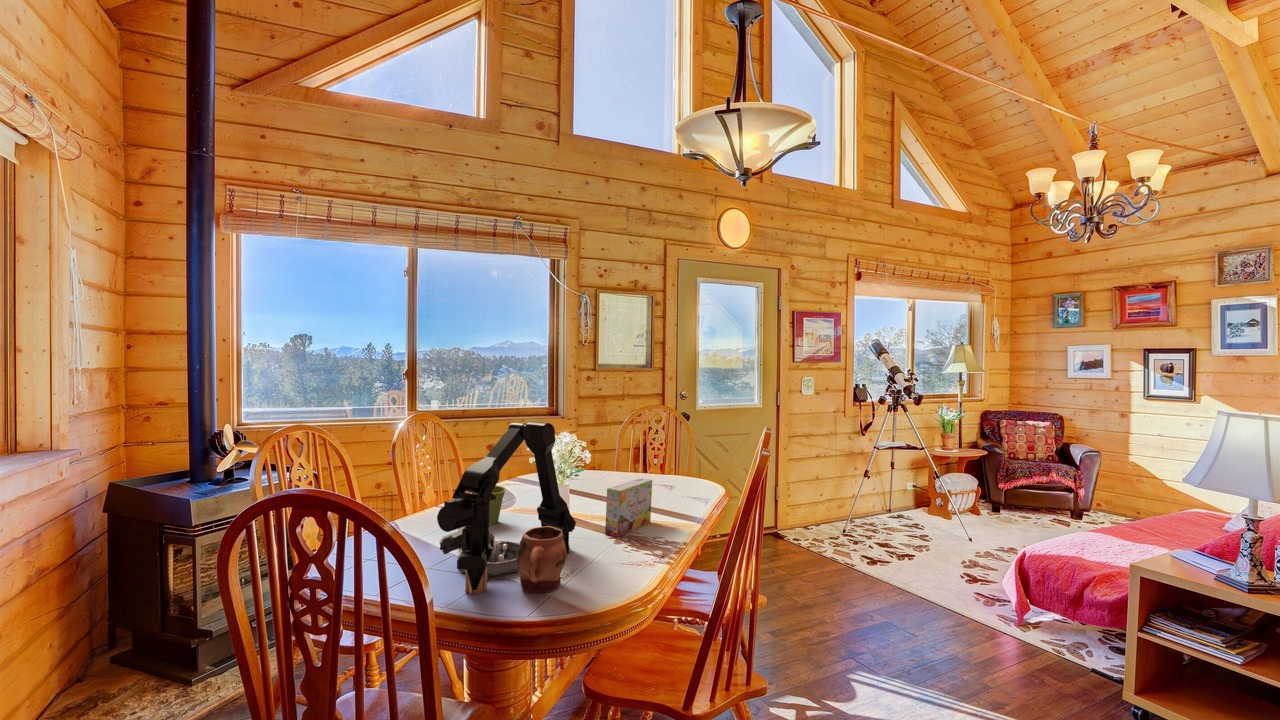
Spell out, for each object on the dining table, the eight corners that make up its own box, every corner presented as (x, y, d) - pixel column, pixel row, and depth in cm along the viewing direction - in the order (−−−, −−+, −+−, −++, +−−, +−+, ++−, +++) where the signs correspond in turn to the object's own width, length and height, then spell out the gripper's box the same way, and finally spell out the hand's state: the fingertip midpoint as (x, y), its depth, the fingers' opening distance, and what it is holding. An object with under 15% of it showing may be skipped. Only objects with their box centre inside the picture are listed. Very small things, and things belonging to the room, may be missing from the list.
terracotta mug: (562, 606, 135) (563, 545, 135) (508, 606, 135) (509, 545, 134) (568, 574, 155) (570, 521, 155) (522, 573, 154) (523, 520, 154)
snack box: (619, 538, 186) (620, 490, 186) (604, 535, 189) (605, 487, 189) (651, 522, 205) (652, 478, 204) (637, 519, 207) (638, 476, 207)
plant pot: (479, 529, 191) (480, 495, 191) (463, 521, 200) (463, 488, 200) (512, 523, 199) (513, 490, 199) (494, 515, 208) (495, 483, 208)
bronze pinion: (487, 585, 146) (488, 565, 146) (485, 593, 141) (485, 572, 141) (467, 585, 145) (467, 565, 145) (463, 594, 141) (464, 573, 141)
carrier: (529, 552, 170) (530, 532, 170) (524, 576, 153) (525, 553, 152) (465, 553, 168) (465, 532, 168) (452, 577, 150) (453, 554, 150)
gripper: (450, 511, 151) (449, 571, 152) (434, 533, 133) (432, 602, 133) (495, 510, 153) (494, 571, 153) (485, 532, 134) (483, 601, 134)
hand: (476, 585), depth 143 cm, fingers closed on bronze pinion, 5 cm apart
